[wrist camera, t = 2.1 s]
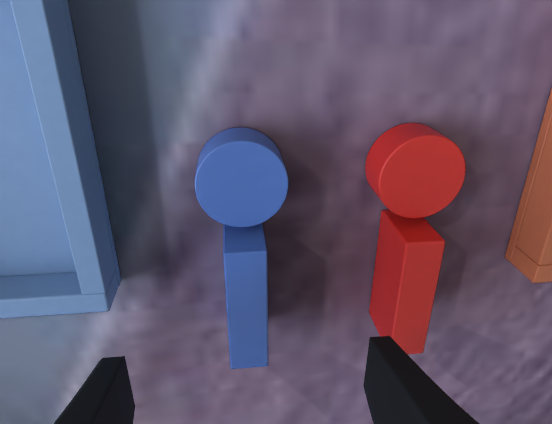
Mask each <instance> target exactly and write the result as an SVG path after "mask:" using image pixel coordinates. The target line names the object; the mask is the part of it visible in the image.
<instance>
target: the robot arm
mask: <svg viewBox="0 0 552 424" xmlns="http://www.w3.org/2000/svg"><path fill="white" fill-rule="evenodd" d="M364 389H365V393H366V397H367V401H368V405H369V409H370V412H371V416H372V420H373V422H374V424H479V423H478V422H477V421H476V420H474V419H473V418H472V417H471V416H470V415H469V414H468V413H466V412H465V411H464V410H463V409H462V408H461V407H460V406H459V405H458V404H456V403H455V402H454V401H453V400H452V399H451V398H450V397H449V396H448V395H447V394H446V393H445V392H444V391H443V390H442V389H441V388H440V387H439V386H438V385H437V384H436V383H435V382H433V381H432V380H431V379H430V378H429V377H428V376H427V375H426V374H425V372H424V371H423V370H422V369H421V368H420V367H419V366H418V365H417V364H416V363H415V362H414V361H413V360H412V359H411V358H410V357H409V356H408V355H407V354H406V353H405V351H404V350H403V349H402V348H401V347H400V346H399V345H398V344H397V343H396V342H395V341H394V340H393V339H392V338H391V337H390V336H380V337H370V340H369V348H368V356H367V364H366V371H365V379H364ZM134 410H135V404H134V399H133V394H132V389H131V385H130V380H129V375H128V370H127V366H126V361H125V356H122V357H109V358H102V359H101V360H100V361H99V362H98V364H97V365H96V367H95V368H94V370H93V371H92V373H91V374H90V375H89V377H88V378H87V380H86V381H85V382H84V384H83V385H82V387H81V388H80V389H79V391H78V392H77V394H76V395H75V396H74V398H73V399H72V400H71V402H70V403H69V404H68V406H67V407H66V408H65V410H64V411H63V412H62V413H61V415H60V416H59V417H58V419H57V420H56V421H55V423H54V424H133V418H134Z"/></svg>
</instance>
